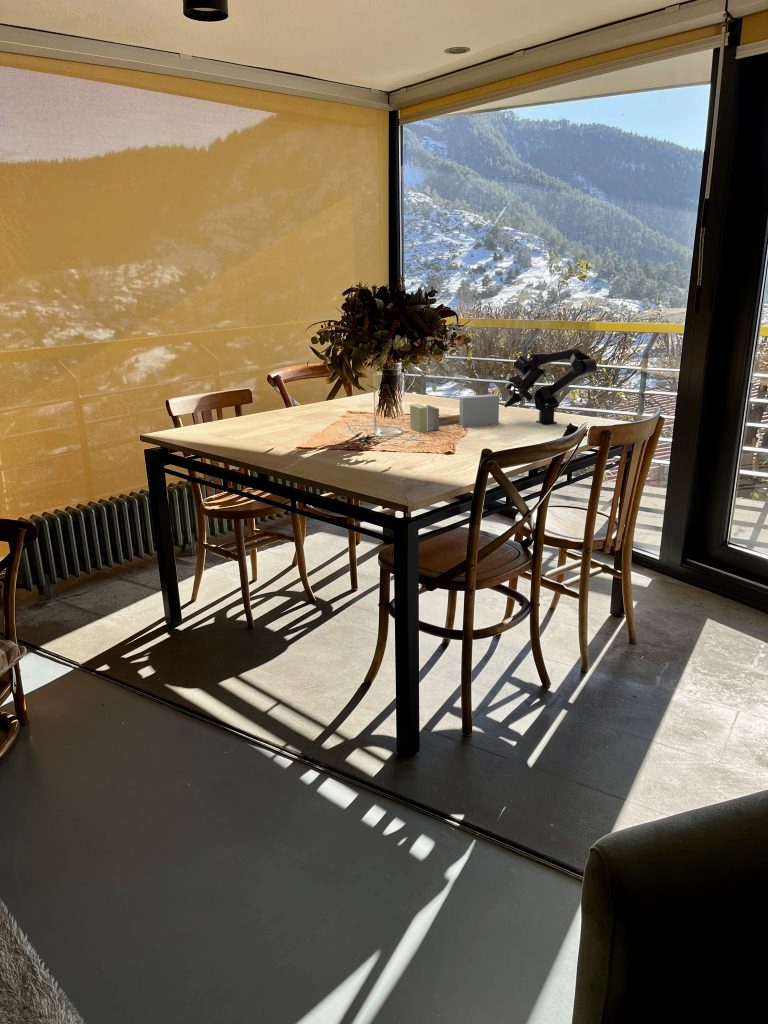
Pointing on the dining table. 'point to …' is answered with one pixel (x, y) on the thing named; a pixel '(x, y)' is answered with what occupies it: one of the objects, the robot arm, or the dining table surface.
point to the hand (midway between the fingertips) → (504, 406)
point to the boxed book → (479, 410)
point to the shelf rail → (449, 419)
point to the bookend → (433, 418)
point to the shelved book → (419, 417)
